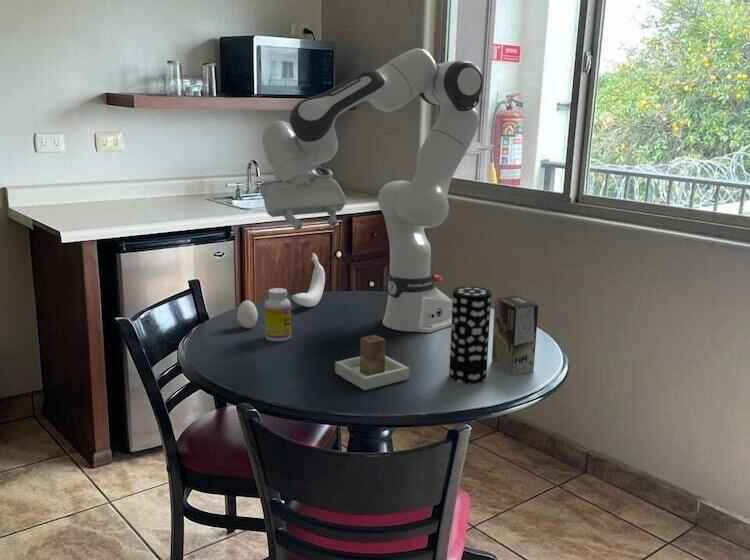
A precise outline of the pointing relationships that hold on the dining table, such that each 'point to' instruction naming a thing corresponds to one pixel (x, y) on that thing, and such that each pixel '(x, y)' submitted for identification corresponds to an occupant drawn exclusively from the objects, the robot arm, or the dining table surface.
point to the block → (372, 355)
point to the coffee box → (514, 334)
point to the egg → (247, 314)
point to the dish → (352, 373)
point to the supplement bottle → (277, 316)
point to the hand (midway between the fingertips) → (316, 226)
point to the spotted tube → (469, 334)
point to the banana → (312, 286)
